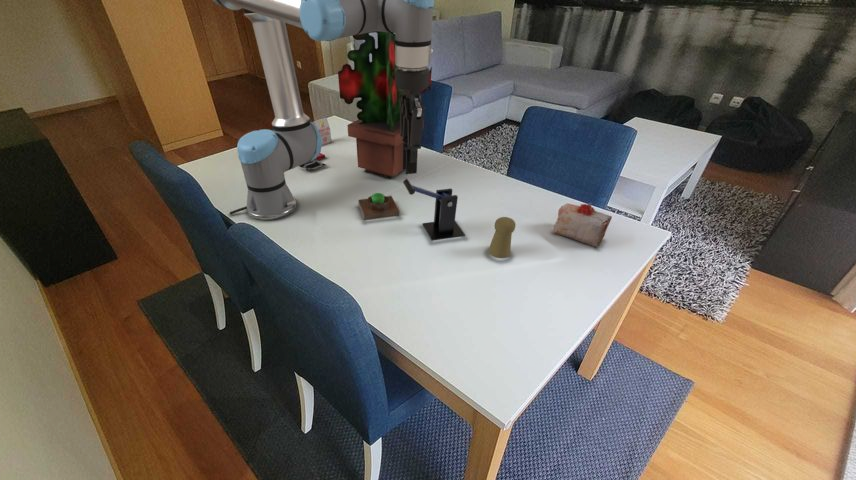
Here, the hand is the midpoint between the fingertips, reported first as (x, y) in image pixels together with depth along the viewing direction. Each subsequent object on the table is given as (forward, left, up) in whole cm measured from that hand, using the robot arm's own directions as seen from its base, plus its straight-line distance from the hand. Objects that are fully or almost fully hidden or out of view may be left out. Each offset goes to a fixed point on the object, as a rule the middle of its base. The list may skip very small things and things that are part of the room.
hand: (409, 170), depth 98 cm
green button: (-5, +16, -16) cm, 23 cm away
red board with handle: (-27, +66, -21) cm, 74 cm away
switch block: (-5, +16, -20) cm, 26 cm away
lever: (+5, 0, -8) cm, 10 cm away
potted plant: (+5, +47, -21) cm, 52 cm away
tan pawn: (+22, -14, -21) cm, 33 cm away
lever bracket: (+11, 0, -20) cm, 23 cm away
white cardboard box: (-16, +80, -21) cm, 84 cm away
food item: (+48, -11, -21) cm, 53 cm away
